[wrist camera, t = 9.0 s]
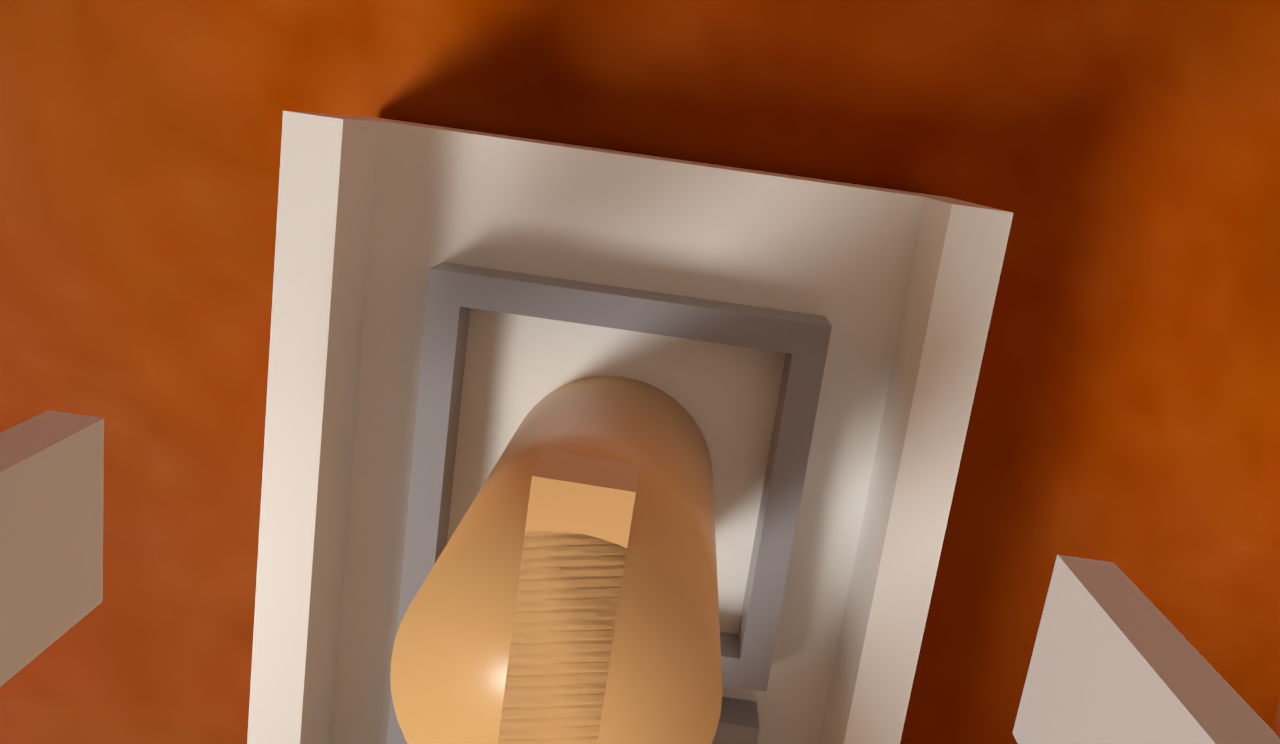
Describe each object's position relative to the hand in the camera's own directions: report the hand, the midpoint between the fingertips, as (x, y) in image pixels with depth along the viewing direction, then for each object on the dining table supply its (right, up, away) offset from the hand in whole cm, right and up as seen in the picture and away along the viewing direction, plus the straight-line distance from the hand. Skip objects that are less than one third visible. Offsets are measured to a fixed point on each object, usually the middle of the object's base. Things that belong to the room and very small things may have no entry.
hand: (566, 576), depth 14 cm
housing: (0, -5, +10) cm, 11 cm away
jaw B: (0, +1, +6) cm, 6 cm away
